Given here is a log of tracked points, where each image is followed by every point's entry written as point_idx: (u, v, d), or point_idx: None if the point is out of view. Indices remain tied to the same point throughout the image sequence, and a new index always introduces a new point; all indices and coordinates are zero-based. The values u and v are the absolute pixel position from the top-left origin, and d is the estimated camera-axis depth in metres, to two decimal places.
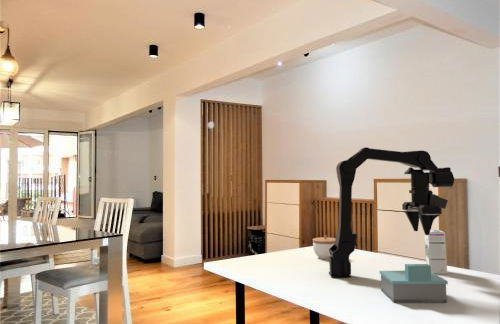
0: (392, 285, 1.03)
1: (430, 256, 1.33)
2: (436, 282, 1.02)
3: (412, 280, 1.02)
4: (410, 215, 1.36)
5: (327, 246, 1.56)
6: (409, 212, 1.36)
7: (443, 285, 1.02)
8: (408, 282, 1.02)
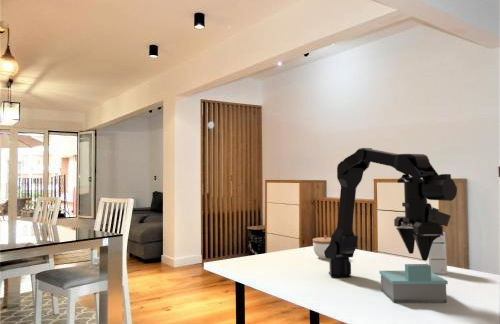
0: (392, 285, 1.03)
1: (430, 256, 1.33)
2: (436, 282, 1.02)
3: (412, 280, 1.02)
4: (404, 233, 1.09)
5: (327, 246, 1.56)
6: (402, 230, 1.09)
7: (443, 285, 1.02)
8: (408, 282, 1.02)
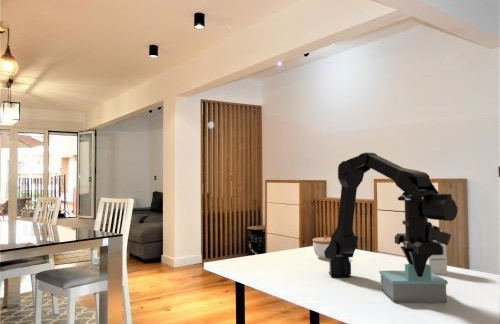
0: (392, 285, 1.03)
1: (430, 256, 1.33)
2: (436, 282, 1.02)
3: (412, 280, 1.02)
4: (408, 253, 1.06)
5: (327, 246, 1.56)
6: (407, 249, 1.06)
7: (443, 285, 1.02)
8: (408, 282, 1.02)
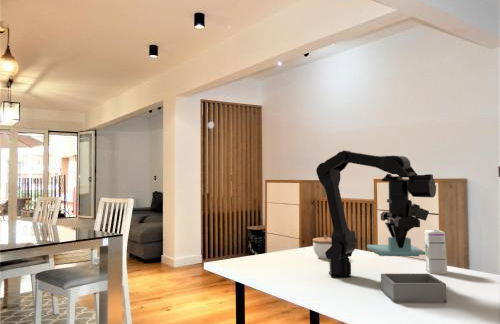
0: (392, 285, 1.03)
1: (430, 256, 1.33)
2: (415, 253, 1.16)
3: (394, 251, 1.16)
4: (391, 228, 1.19)
5: (327, 246, 1.56)
6: (390, 224, 1.19)
7: (443, 285, 1.02)
8: (390, 252, 1.16)
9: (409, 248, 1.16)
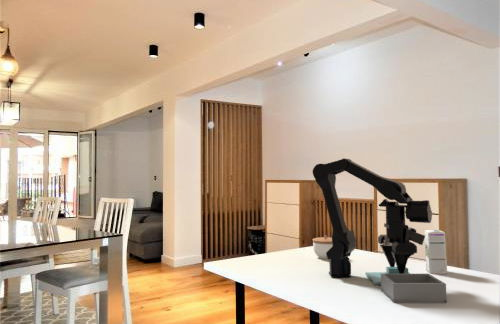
0: (392, 285, 1.03)
1: (430, 256, 1.33)
2: None
3: None
4: (386, 250, 1.25)
5: (327, 246, 1.56)
6: (385, 247, 1.25)
7: (443, 285, 1.02)
8: None
9: None
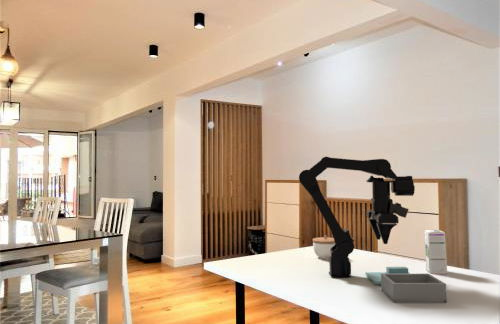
0: (392, 285, 1.03)
1: (430, 256, 1.33)
2: None
3: None
4: (373, 223, 1.35)
5: (327, 246, 1.56)
6: (372, 220, 1.35)
7: (443, 285, 1.02)
8: None
9: None
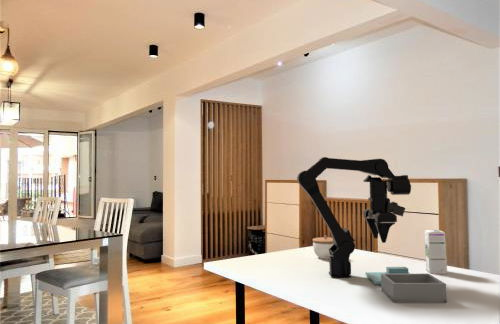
0: (392, 285, 1.03)
1: (430, 256, 1.33)
2: None
3: None
4: (370, 222, 1.37)
5: (327, 246, 1.56)
6: (369, 219, 1.37)
7: (443, 285, 1.02)
8: None
9: None
